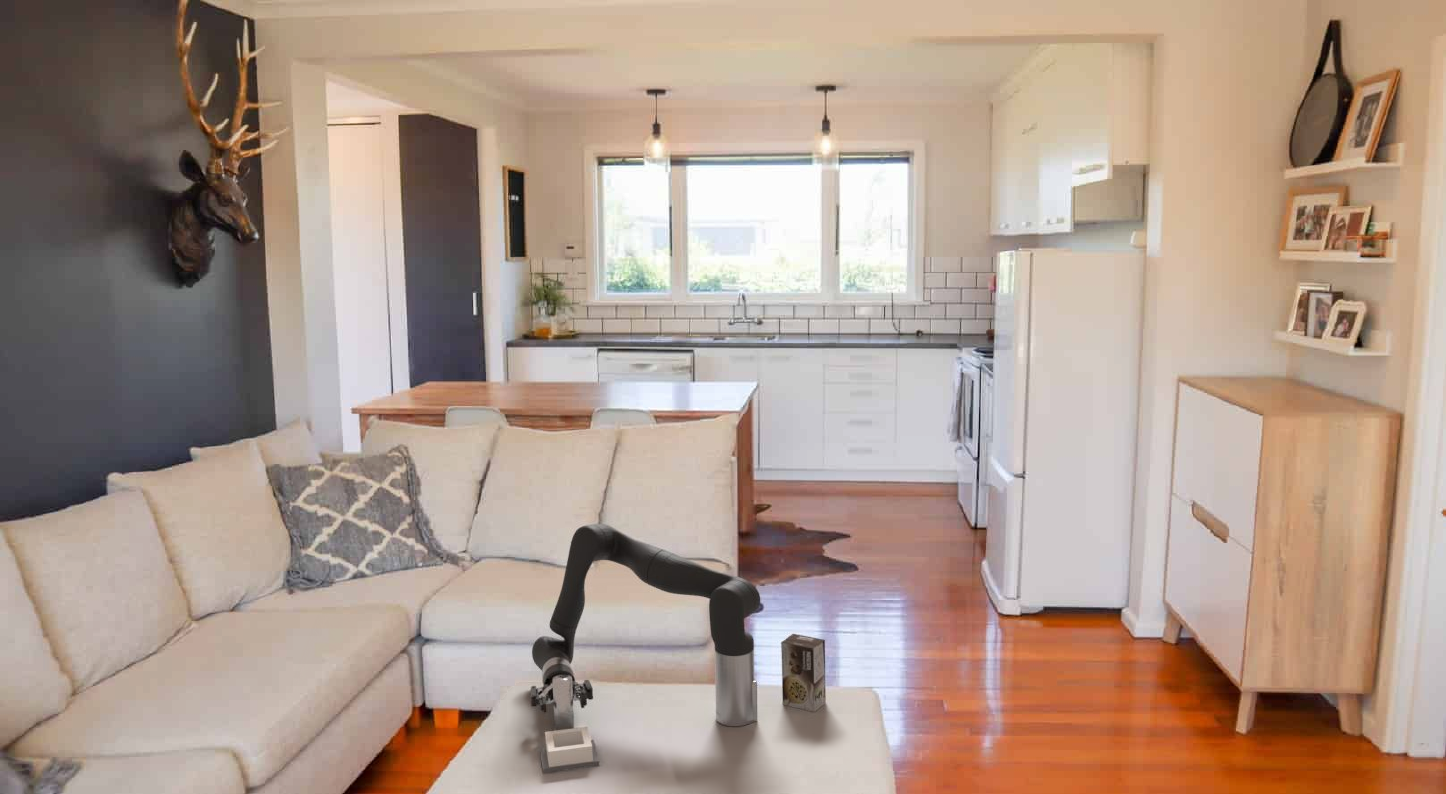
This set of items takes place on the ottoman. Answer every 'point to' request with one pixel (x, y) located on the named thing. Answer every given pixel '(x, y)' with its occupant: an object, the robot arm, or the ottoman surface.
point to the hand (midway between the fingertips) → (564, 706)
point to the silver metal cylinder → (563, 702)
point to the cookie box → (803, 672)
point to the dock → (568, 750)
